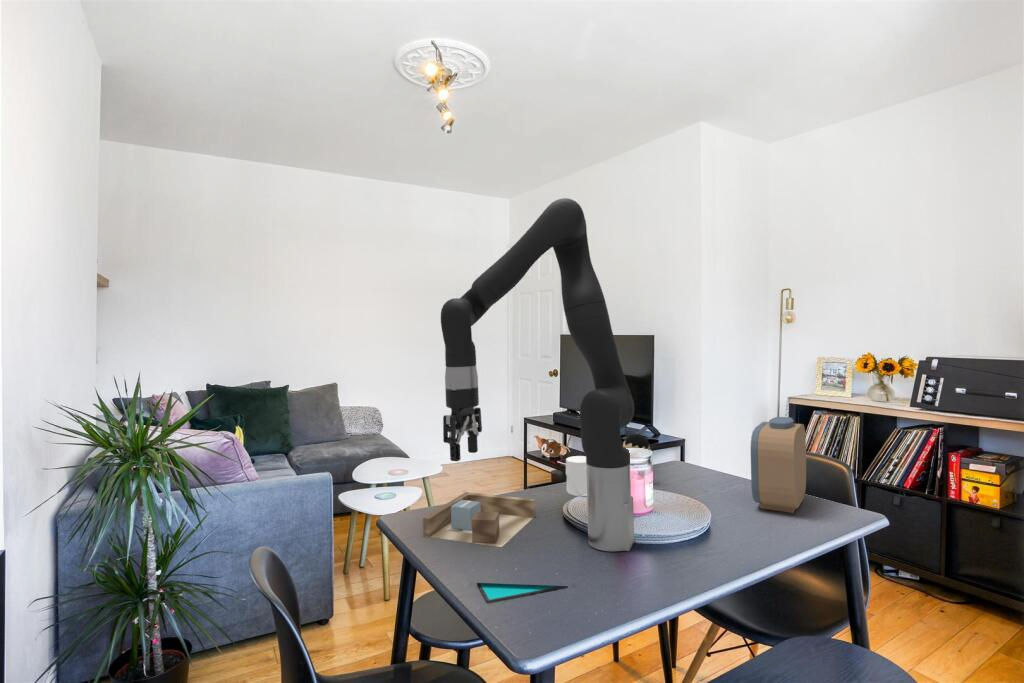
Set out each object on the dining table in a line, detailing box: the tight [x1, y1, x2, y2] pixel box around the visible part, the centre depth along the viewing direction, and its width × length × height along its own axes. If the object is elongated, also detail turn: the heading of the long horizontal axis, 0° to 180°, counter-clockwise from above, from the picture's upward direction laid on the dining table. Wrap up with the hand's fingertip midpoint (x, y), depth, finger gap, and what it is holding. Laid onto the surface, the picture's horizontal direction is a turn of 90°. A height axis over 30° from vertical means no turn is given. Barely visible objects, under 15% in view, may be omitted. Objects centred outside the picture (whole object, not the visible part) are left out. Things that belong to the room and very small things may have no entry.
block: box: [451, 500, 481, 531], centre depth 122 cm, size 5×5×5 cm
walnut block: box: [471, 512, 499, 544], centre depth 114 cm, size 5×5×5 cm
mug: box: [565, 455, 587, 497], centre depth 149 cm, size 12×9×8 cm
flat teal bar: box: [476, 582, 569, 604], centre depth 95 cm, size 7×1×15 cm
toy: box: [622, 433, 653, 465], centre depth 155 cm, size 9×7×15 cm
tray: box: [422, 491, 536, 548], centre depth 123 cm, size 19×20×5 cm
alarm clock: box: [750, 416, 807, 514], centre depth 135 cm, size 21×10×22 cm, turn 144°
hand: (464, 456), depth 122 cm, fingers open, 8 cm apart
